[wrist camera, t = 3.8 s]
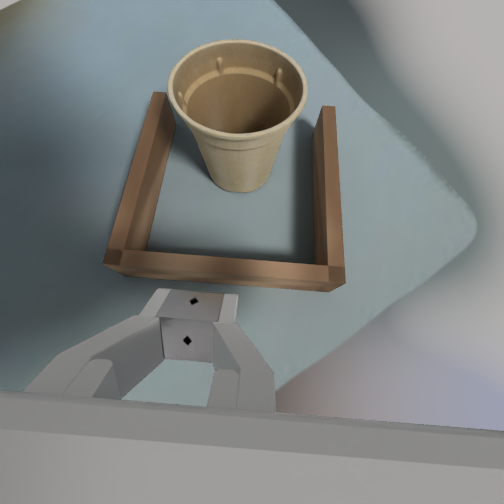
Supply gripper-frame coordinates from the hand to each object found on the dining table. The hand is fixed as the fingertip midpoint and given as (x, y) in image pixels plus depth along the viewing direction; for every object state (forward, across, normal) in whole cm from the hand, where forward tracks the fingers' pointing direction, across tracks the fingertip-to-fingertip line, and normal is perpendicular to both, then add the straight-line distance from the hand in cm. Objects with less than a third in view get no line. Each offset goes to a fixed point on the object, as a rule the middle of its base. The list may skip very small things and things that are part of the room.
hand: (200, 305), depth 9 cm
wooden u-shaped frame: (+16, 0, -1) cm, 16 cm away
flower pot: (+18, 0, -3) cm, 19 cm away
